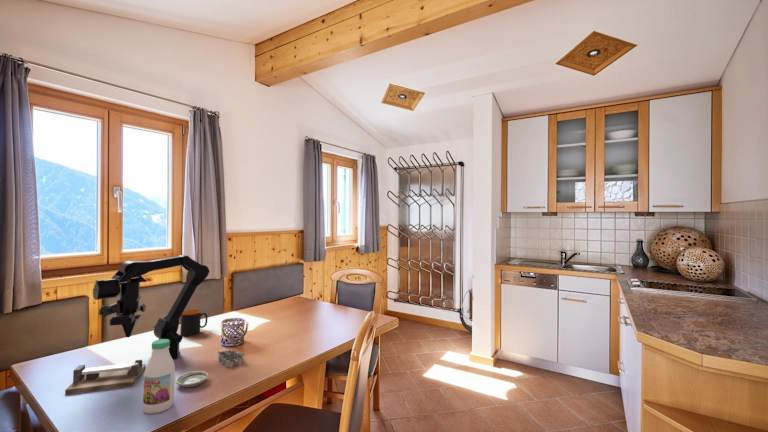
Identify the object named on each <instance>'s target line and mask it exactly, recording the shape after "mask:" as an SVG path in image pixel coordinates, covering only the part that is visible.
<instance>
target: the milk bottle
mask: <svg viewBox="0 0 768 432" xmlns="http://www.w3.org/2000/svg"><path fill="white" fill-rule="evenodd" d="M169 347H170V340H169V339H160V340H159V339H156V340H153V341H152V343H151V352H152V353H151V356H150V357H149V360H148V362H147V363H146V368H145V370H144V374H143V375H144V378H143V396H142V397H143V398H142V399H143V401H142V411H143V412H144V413H145V414H148V415H149V414H150V415H154V414H160V413H162V412H163V413H164V412H165V411H168V410H169V409H171V408H172V406H173V405H174V404H175V403H174V401H175V400H174V398H175V380H176V379H175V377H176V375H175V374H176V373H175V370H176V369H175V367H176V366H175V362H174V359H172V357H171V355H170V353H169Z"/></svg>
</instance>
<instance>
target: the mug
mask: <svg viewBox="0 0 768 432" xmlns="http://www.w3.org/2000/svg"><path fill="white" fill-rule="evenodd" d="M203 315H204V317H205V322H204V324H203V325H201V318H202V316H203ZM207 325H208V314H207V313H206V312H201V310H197V309H193V310H186V311H185V310H184V311H183V313H182V315H181V317H180V330H179V331H180V333H179V335H181V336H182V337H184V338H189V337H190V338H191V337H194V336H198V335H199V334H201V329H203V328H205V327H206V326H207Z"/></svg>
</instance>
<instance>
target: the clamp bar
mask: <svg viewBox="0 0 768 432" xmlns="http://www.w3.org/2000/svg"><path fill="white" fill-rule="evenodd" d="M132 365H140V362H137V363H135V362H131V363H120V364H113V365H112V364H111V365H103V366H102V365H101V366H92V367H85V369H84V370H83V371H82V375H85V374H94V373H103V372H112V371H121V370H130V369H131V366H132Z"/></svg>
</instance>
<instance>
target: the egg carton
mask: <svg viewBox="0 0 768 432" xmlns="http://www.w3.org/2000/svg"><path fill="white" fill-rule="evenodd" d="M217 354H218V355H217V357H218V358H217V362H218V363H220V362H221V365H224V368H233V367H234V366H236V365H238V366H241V365H242V363H243V361H244V356H245V354H244V352H239V351H236V350H235V349H232V350H230V349H228V350H222V351H217ZM233 357H234V358H233Z"/></svg>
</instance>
